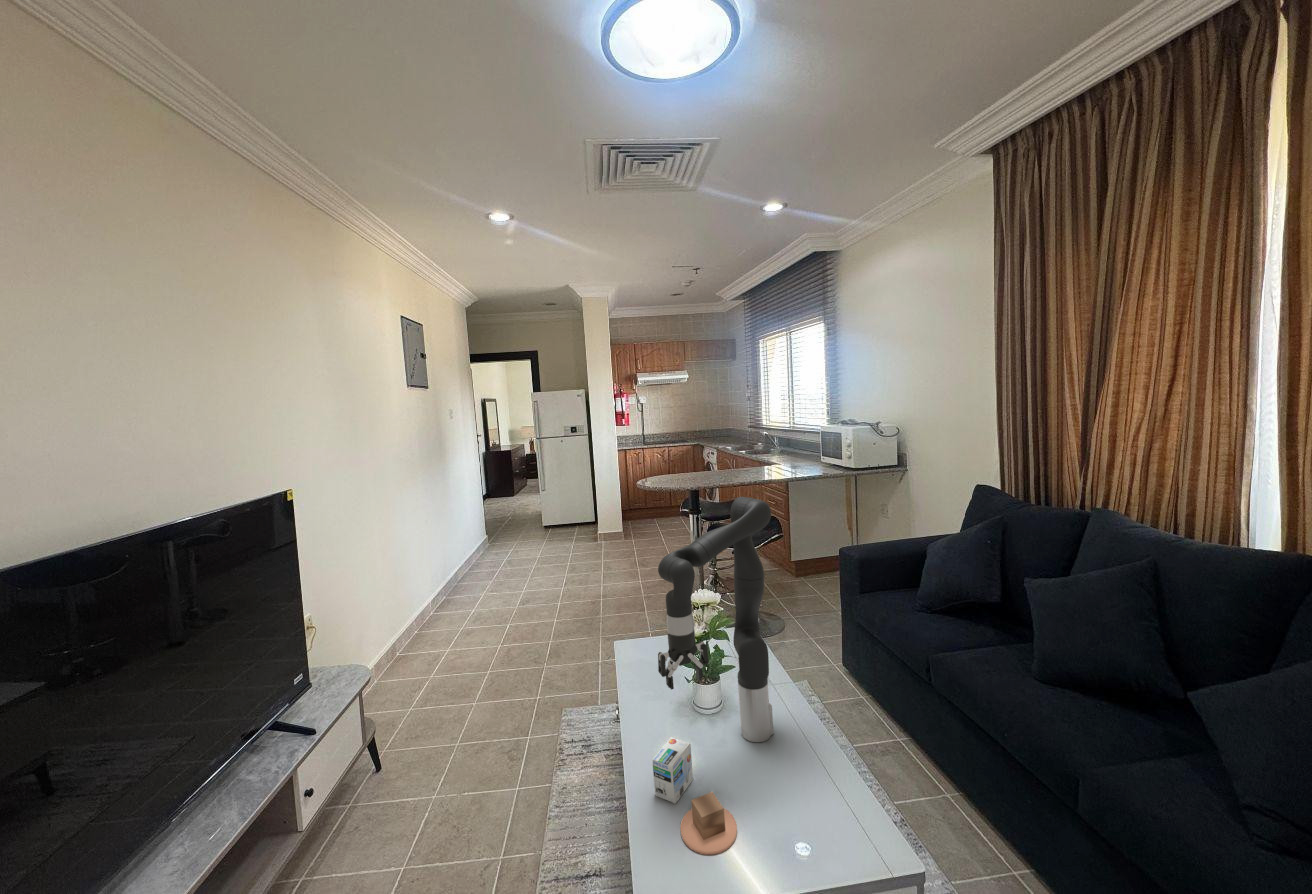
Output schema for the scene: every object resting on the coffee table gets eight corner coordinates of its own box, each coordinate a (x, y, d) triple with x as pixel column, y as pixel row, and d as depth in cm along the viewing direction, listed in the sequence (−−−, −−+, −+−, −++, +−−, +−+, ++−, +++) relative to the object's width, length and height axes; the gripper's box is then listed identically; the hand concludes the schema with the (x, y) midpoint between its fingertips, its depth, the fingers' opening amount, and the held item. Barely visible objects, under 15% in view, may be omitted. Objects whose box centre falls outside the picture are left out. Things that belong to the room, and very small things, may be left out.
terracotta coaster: (720, 800, 138) (720, 797, 138) (747, 841, 125) (747, 837, 125) (672, 819, 133) (671, 816, 133) (695, 863, 120) (695, 859, 120)
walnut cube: (714, 813, 133) (712, 791, 132) (725, 830, 127) (723, 808, 127) (692, 822, 131) (691, 800, 130) (703, 840, 125) (701, 817, 125)
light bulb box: (675, 804, 138) (672, 767, 137) (654, 796, 142) (651, 759, 141) (694, 778, 147) (691, 742, 146) (673, 770, 151) (670, 736, 150)
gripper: (698, 617, 149) (702, 670, 151) (651, 628, 144) (656, 684, 146) (709, 627, 142) (714, 683, 144) (661, 639, 137) (666, 697, 139)
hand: (685, 683), depth 145 cm, fingers open, 8 cm apart
